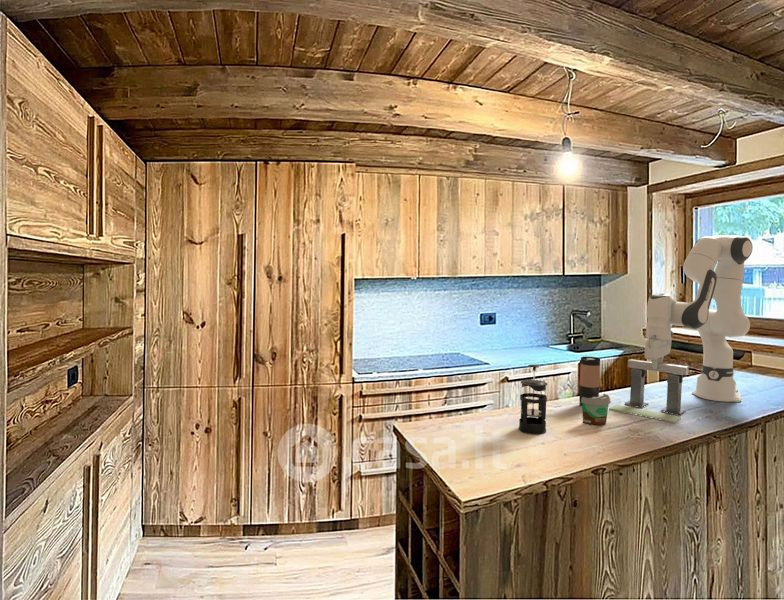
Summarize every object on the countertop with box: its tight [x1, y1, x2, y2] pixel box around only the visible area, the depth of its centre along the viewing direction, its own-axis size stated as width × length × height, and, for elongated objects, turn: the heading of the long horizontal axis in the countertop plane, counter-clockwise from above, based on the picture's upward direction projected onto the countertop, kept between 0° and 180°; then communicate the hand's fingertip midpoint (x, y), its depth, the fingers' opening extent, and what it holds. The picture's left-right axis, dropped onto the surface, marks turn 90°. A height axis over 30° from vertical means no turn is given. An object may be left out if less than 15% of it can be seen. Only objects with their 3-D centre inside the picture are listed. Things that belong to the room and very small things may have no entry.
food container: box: [581, 393, 612, 427], centre depth 188 cm, size 12×6×10 cm, turn 117°
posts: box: [624, 368, 687, 416], centre depth 210 cm, size 7×21×15 cm, turn 45°
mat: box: [608, 404, 682, 424], centre depth 202 cm, size 8×24×1 cm, turn 45°
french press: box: [518, 364, 548, 435], centre depth 180 cm, size 12×9×23 cm
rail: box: [627, 358, 689, 376], centre depth 210 cm, size 3×22×3 cm, turn 45°
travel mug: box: [578, 356, 601, 407], centre depth 212 cm, size 8×8×20 cm
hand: (657, 367), depth 210 cm, fingers closed on rail, 3 cm apart
